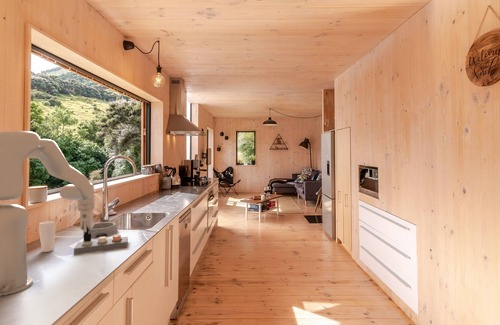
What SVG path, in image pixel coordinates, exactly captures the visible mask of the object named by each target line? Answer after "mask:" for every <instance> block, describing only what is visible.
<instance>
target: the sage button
mask: <svg viewBox="0 0 500 325" xmlns="http://www.w3.org/2000/svg"><path fill="white" fill-rule="evenodd" d="M92 241H93V240H92V239H91V241H88V242H84V240H83V241H82V242H83V246H86V245H92Z"/></svg>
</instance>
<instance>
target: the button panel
mask: <svg viewBox="0 0 500 325" xmlns="http://www.w3.org/2000/svg"><path fill="white" fill-rule="evenodd" d="M128 239H129V237H128V236H121V241H118V242H113V237H111V238H107V243H102V244H98V239H97V240H92V245H86V246H83V241H80V242H77V243H76V245H75V246H74V248H73V254H74V255H80V254H81V253H82V254H87V253H88V254H89V253H96V252H103V251H110V250H118V249H126V248H127V247H128V242H129V240H128ZM82 254H81V255H82Z"/></svg>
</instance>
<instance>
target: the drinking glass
mask: <svg viewBox="0 0 500 325" xmlns="http://www.w3.org/2000/svg"><path fill="white" fill-rule="evenodd" d="M38 234H39V240H40V245H41V246H40V247H41V249H40V250H41V252H42V253H49V252H52V251H54V250H55V240H56V239H55V237H56V222H55V220H47V221H42V222H39V223H38Z"/></svg>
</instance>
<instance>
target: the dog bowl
mask: <svg viewBox="0 0 500 325" xmlns="http://www.w3.org/2000/svg"><path fill="white" fill-rule="evenodd" d="M117 232H119V231H118V228H117V225H116V223H115V222H111V221H104V222H97V223H94V226H93V227H92V229H91V239H93V238H95V239H96V237H101V236H105V235H107V236H111V235H114V234H116V233H117Z"/></svg>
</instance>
